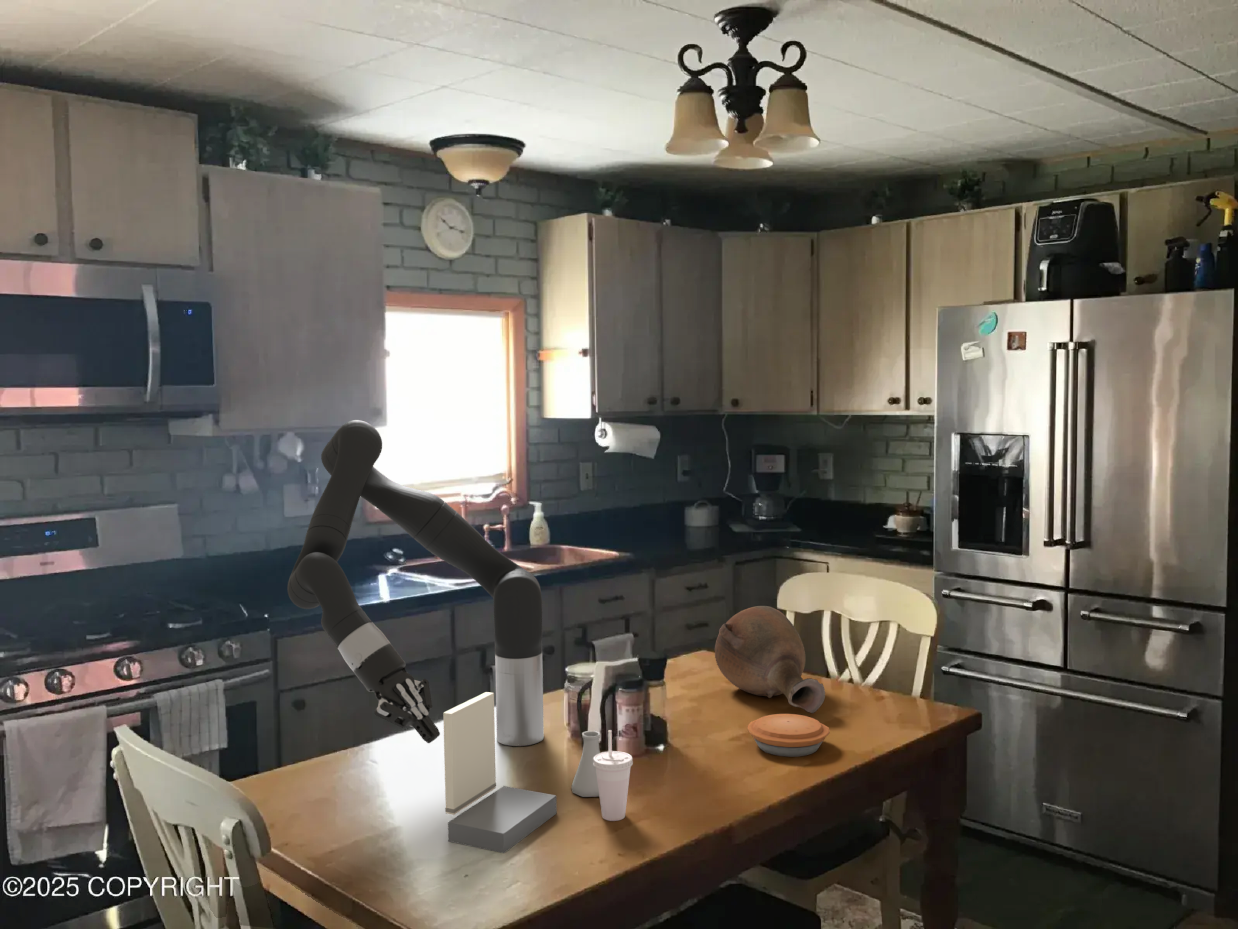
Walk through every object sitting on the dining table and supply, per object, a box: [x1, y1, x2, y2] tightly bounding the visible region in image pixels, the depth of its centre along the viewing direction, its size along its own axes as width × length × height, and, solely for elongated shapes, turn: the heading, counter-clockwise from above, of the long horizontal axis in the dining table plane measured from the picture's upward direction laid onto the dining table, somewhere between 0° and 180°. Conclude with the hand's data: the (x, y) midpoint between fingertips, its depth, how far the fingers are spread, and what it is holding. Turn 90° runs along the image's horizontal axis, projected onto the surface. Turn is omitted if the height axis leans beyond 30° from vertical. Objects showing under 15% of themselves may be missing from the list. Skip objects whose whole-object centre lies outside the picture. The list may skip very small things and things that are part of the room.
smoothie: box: [593, 729, 634, 822], centre depth 169 cm, size 6×6×14 cm
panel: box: [442, 691, 497, 816], centre depth 168 cm, size 12×2×16 cm, turn 154°
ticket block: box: [447, 785, 558, 854], centre depth 166 cm, size 16×10×3 cm, turn 154°
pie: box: [747, 713, 831, 758], centre depth 201 cm, size 15×16×5 cm
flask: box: [571, 730, 601, 798], centre depth 180 cm, size 7×7×10 cm
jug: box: [714, 605, 826, 714], centre depth 231 cm, size 20×20×30 cm
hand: (434, 739), depth 172 cm, fingers closed
